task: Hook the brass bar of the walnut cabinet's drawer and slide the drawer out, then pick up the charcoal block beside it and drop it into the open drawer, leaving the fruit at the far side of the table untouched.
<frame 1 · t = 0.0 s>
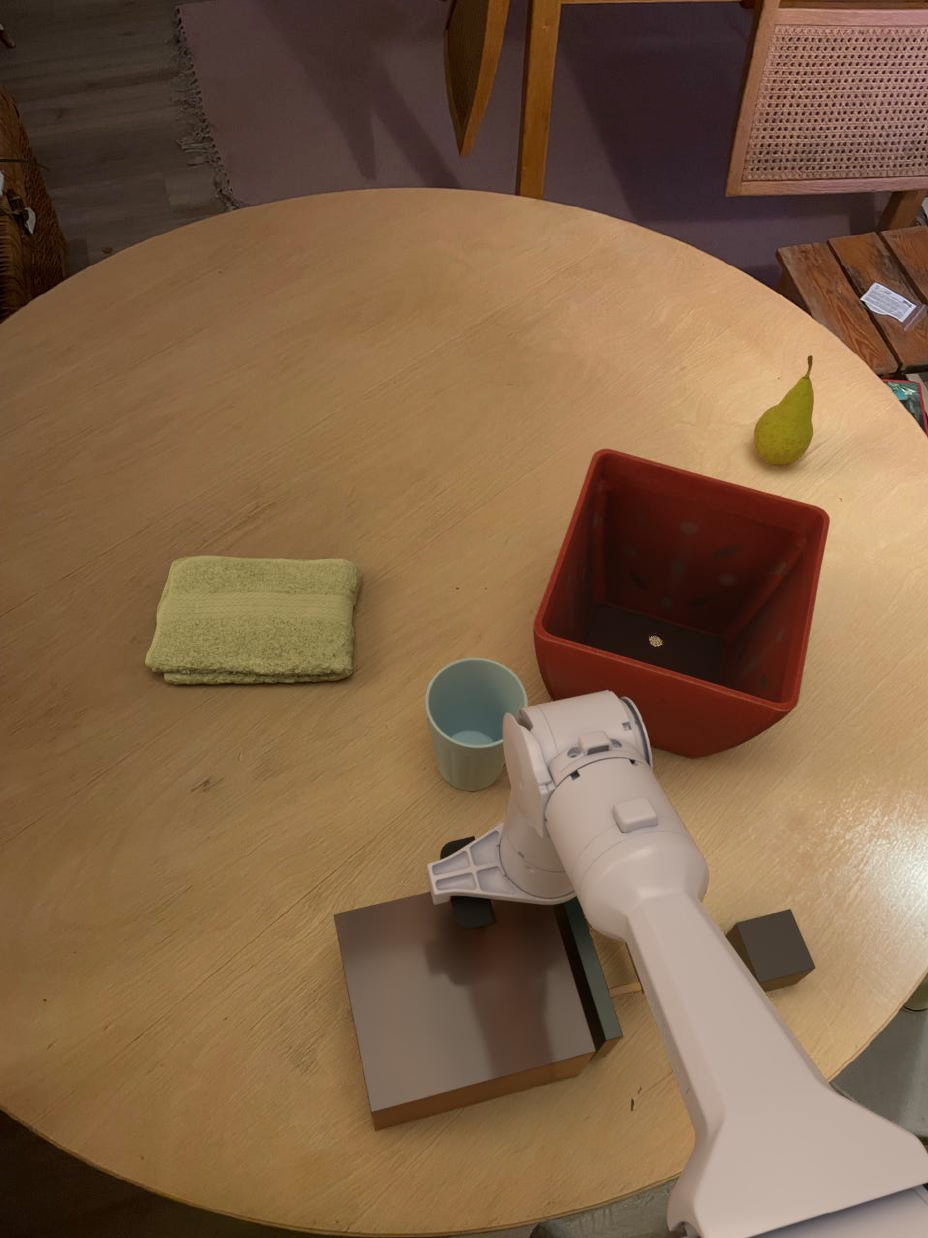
hand: (531, 900, 71), 9 cm above the table, tool pointing down, fingers open, 7 cm apart
block: (758, 961, 78), on the table
flower pot: (645, 681, 91), on the table
washcloth: (259, 628, 93), on the table
drawer: (525, 979, 72), point 4 cm above the table, slide at 1.0 cm
cup: (469, 762, 86), on the table
cabinet: (456, 1011, 75), on the table
fruit: (773, 458, 107), on the table
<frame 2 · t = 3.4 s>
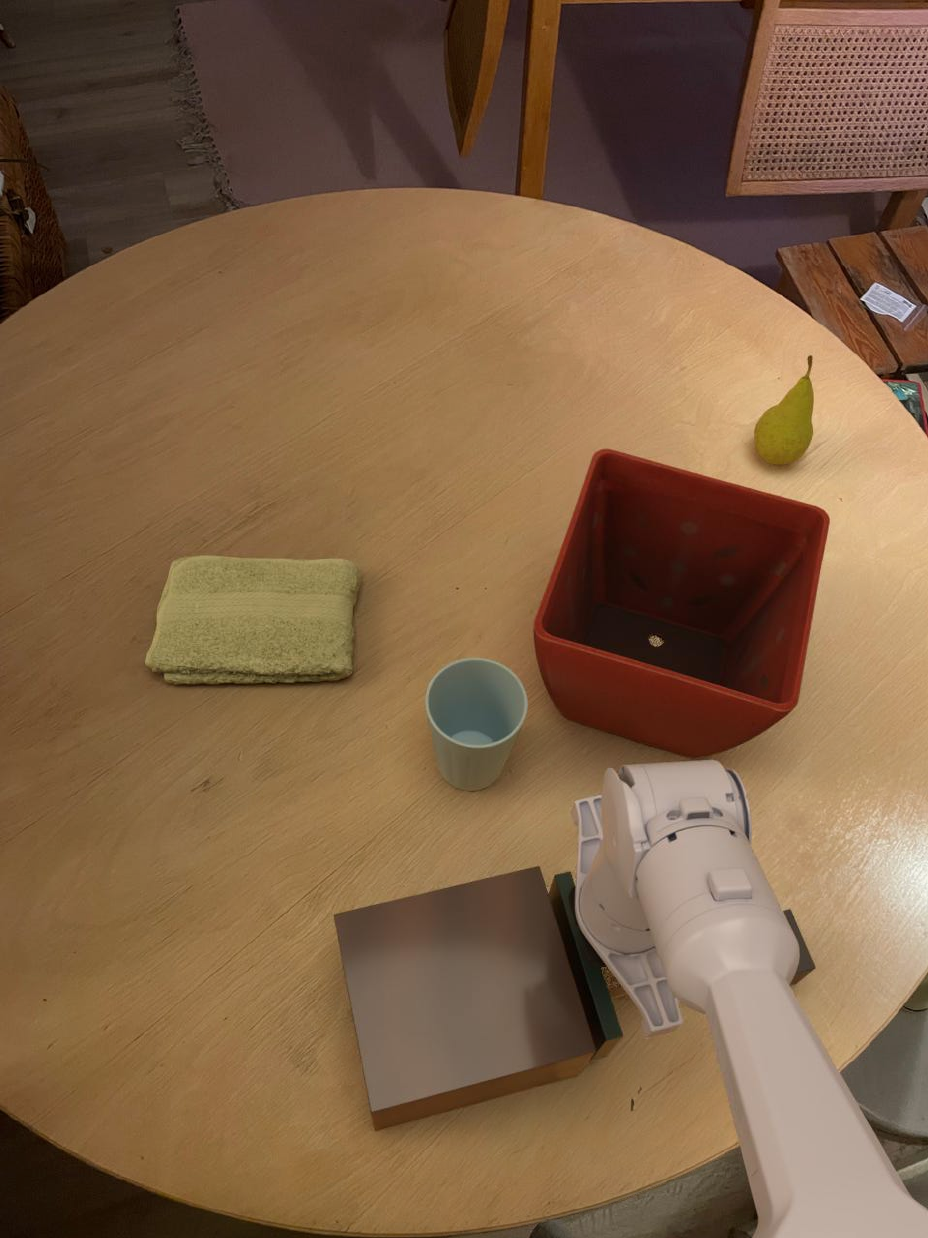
hand: (602, 948, 70), 8 cm above the table, tool pointing down, fingers closed, pressing on drawer
drawer: (525, 979, 72), point 4 cm above the table, slide at 1.0 cm, touching gripper
everything else where it was.
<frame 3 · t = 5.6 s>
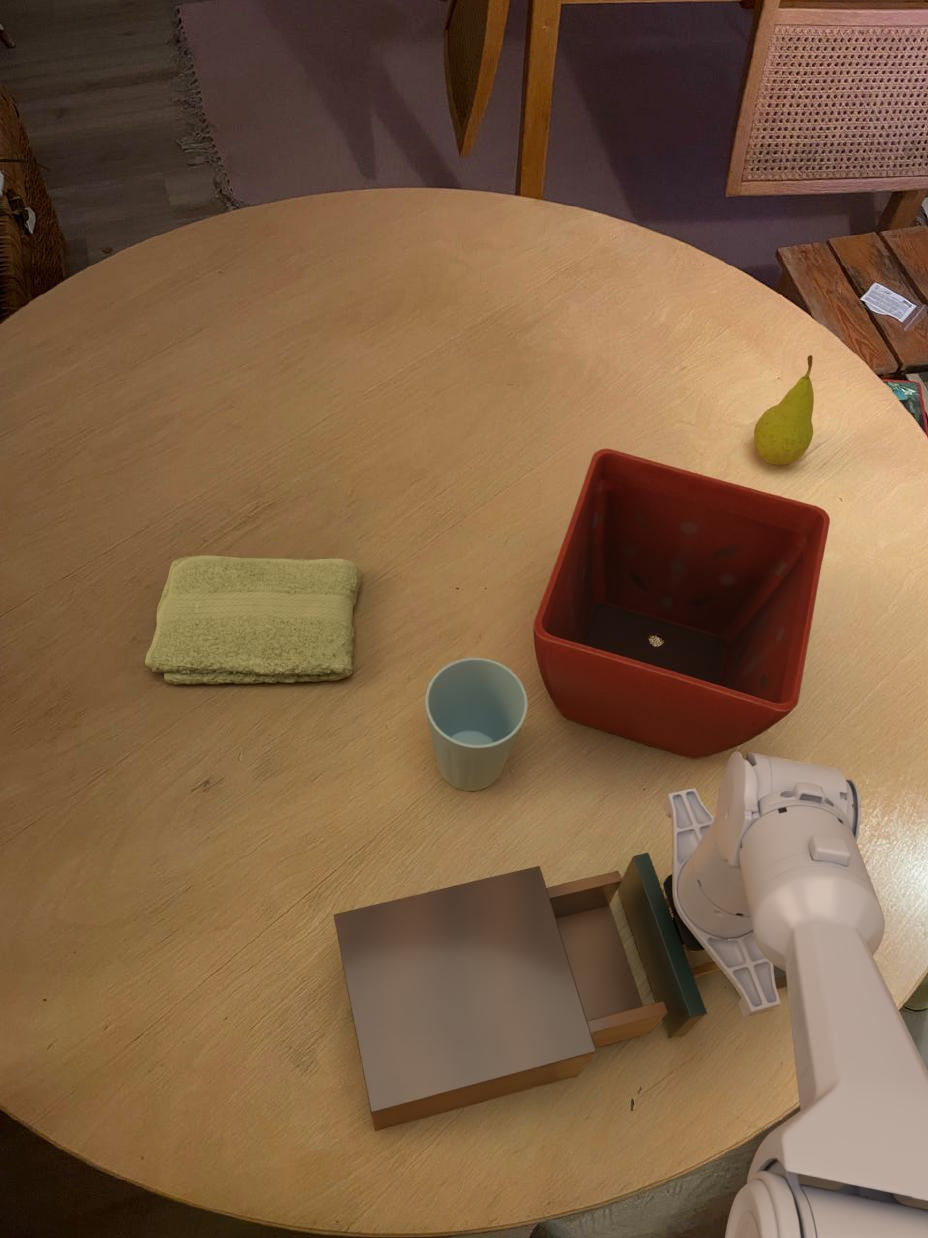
hand: (689, 933, 74), 5 cm above the table, tool pointing down, fingers closed, pressing on drawer
drawer: (605, 959, 73), point 4 cm above the table, slide at 6.9 cm, touching gripper
everything else where it was.
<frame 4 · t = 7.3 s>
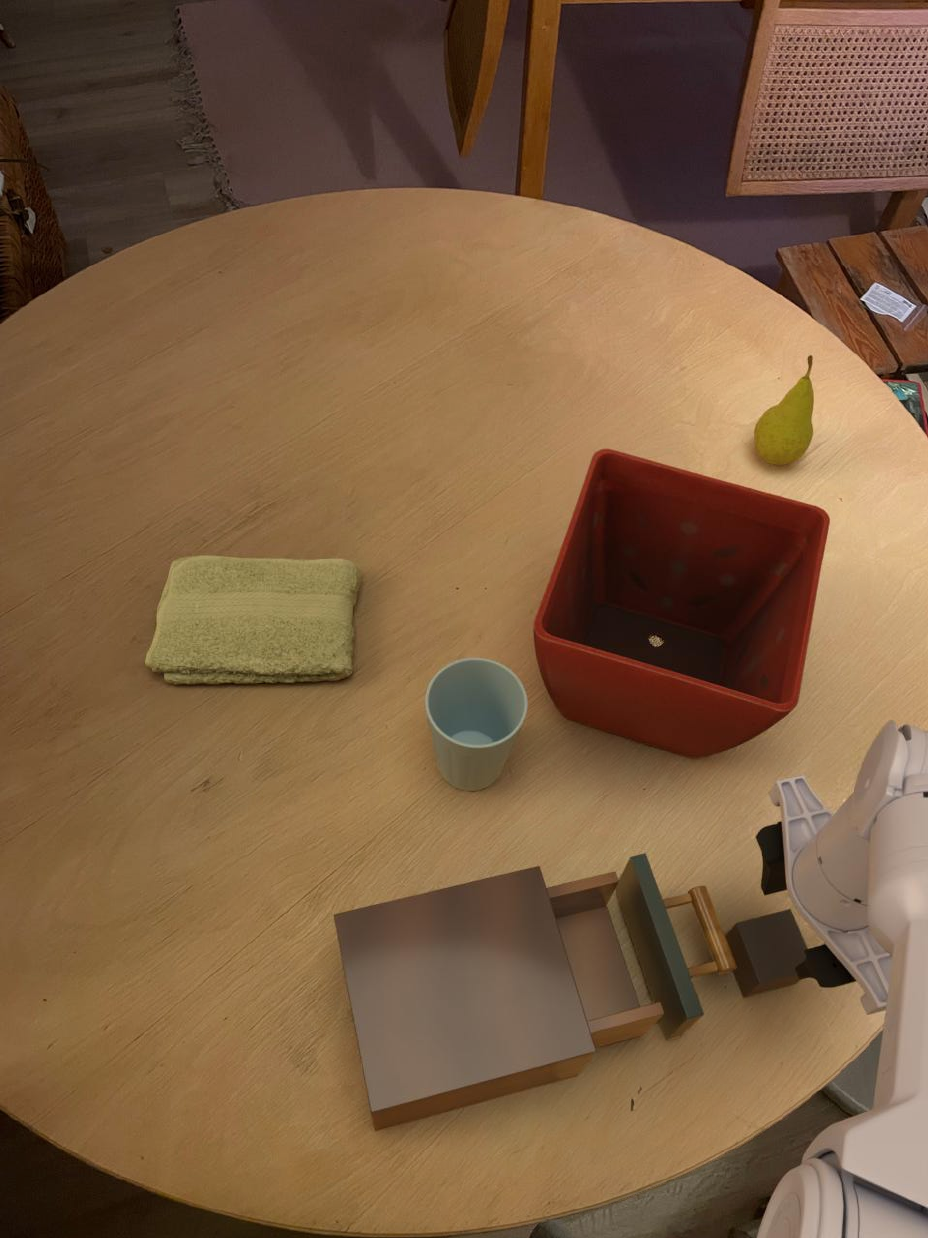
hand: (792, 928, 71), 8 cm above the table, tool pointing down, fingers open, 5 cm apart
drawer: (602, 960, 73), point 4 cm above the table, slide at 6.7 cm
everything else where it was.
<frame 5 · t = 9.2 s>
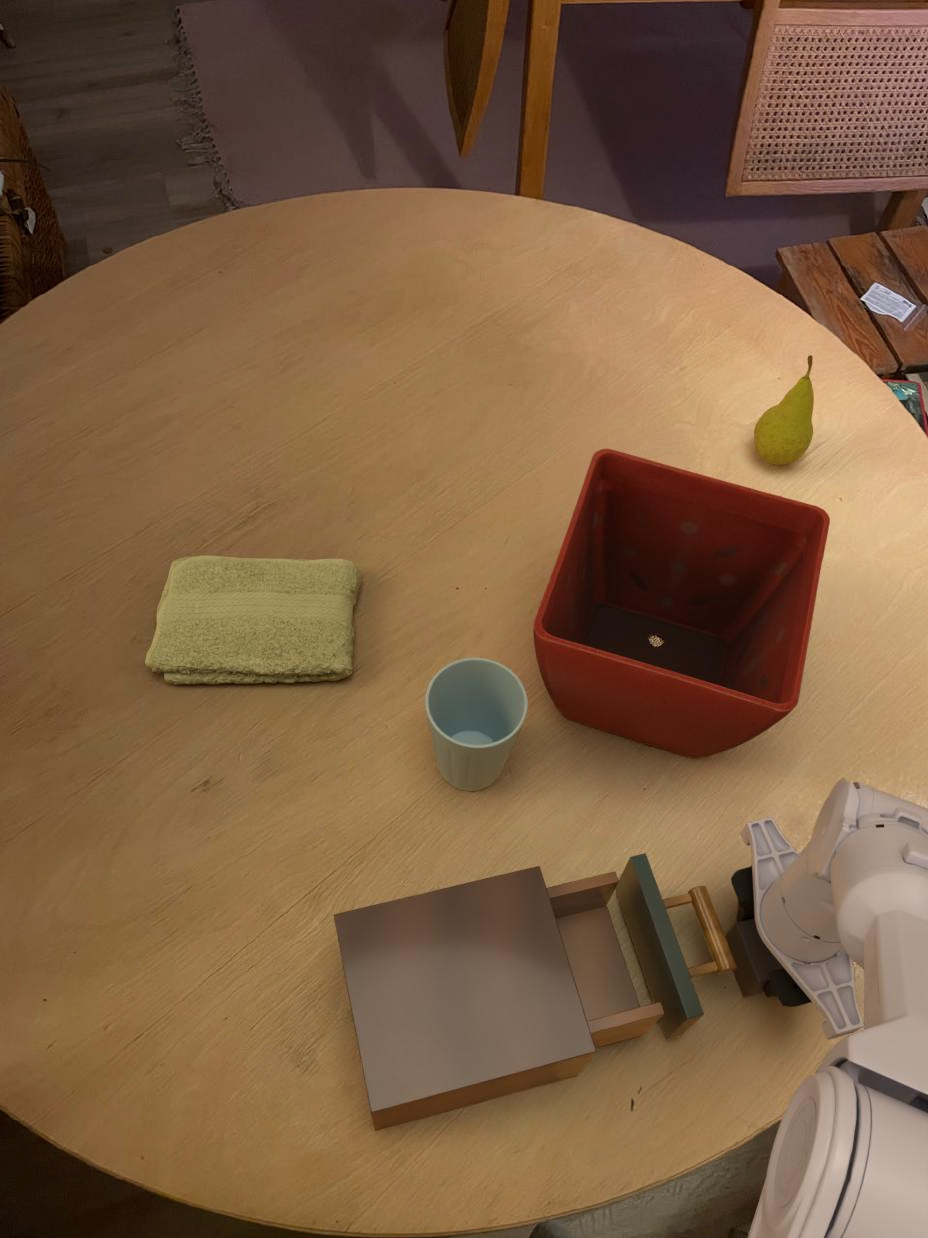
hand: (763, 957, 77), 1 cm above the table, tool pointing down, fingers closed on block, 4 cm apart
block: (758, 961, 78), on the table, touching gripper
everything else where it was.
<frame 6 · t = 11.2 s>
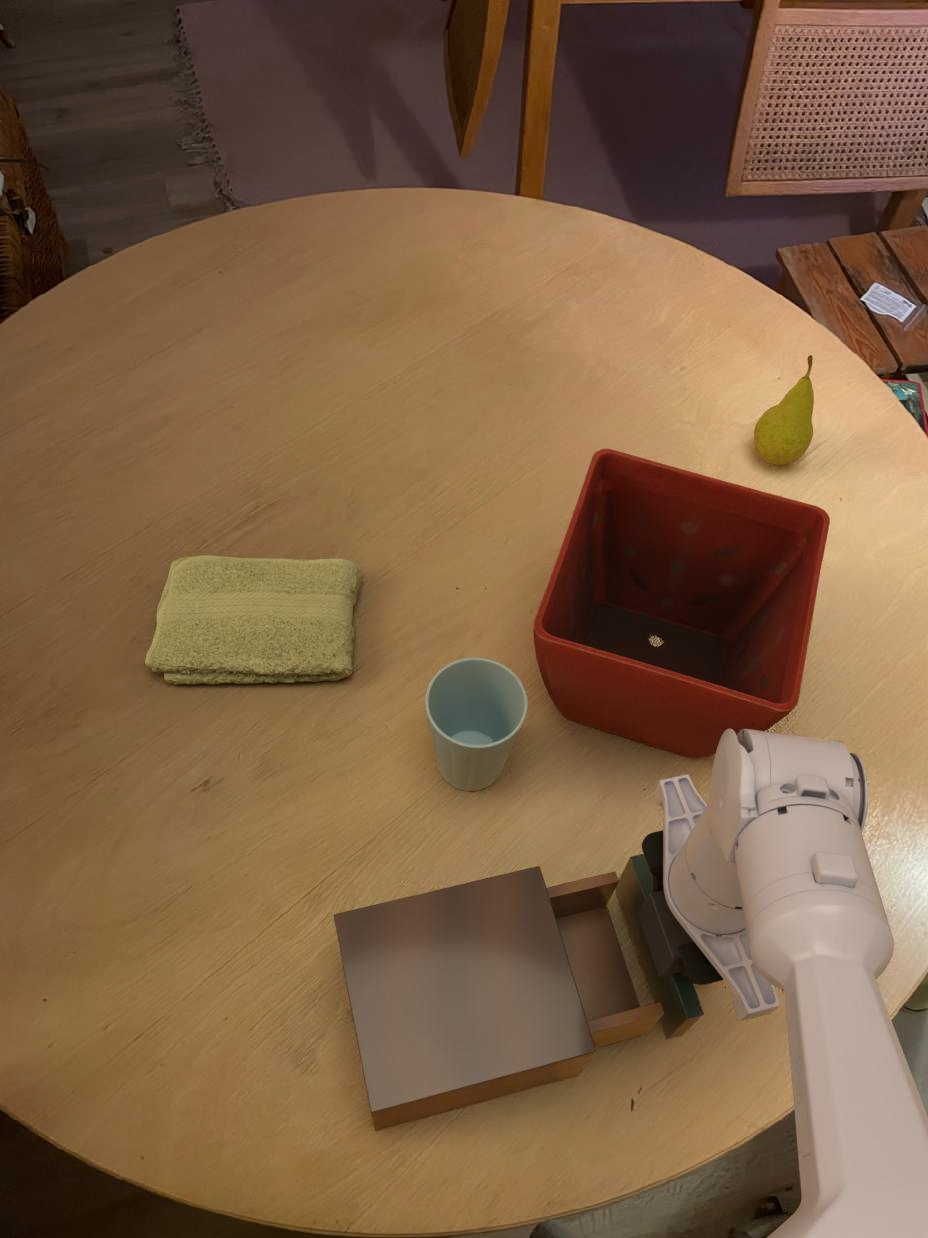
hand: (682, 932, 69), 10 cm above the table, tool pointing down, fingers closed on block, 4 cm apart
block: (678, 937, 70), point 8 cm above the table, touching gripper
everything else where it was.
when the fingers open (6 cm above the table, at t = 13.5 s): block drops 3 cm, resting on drawer.
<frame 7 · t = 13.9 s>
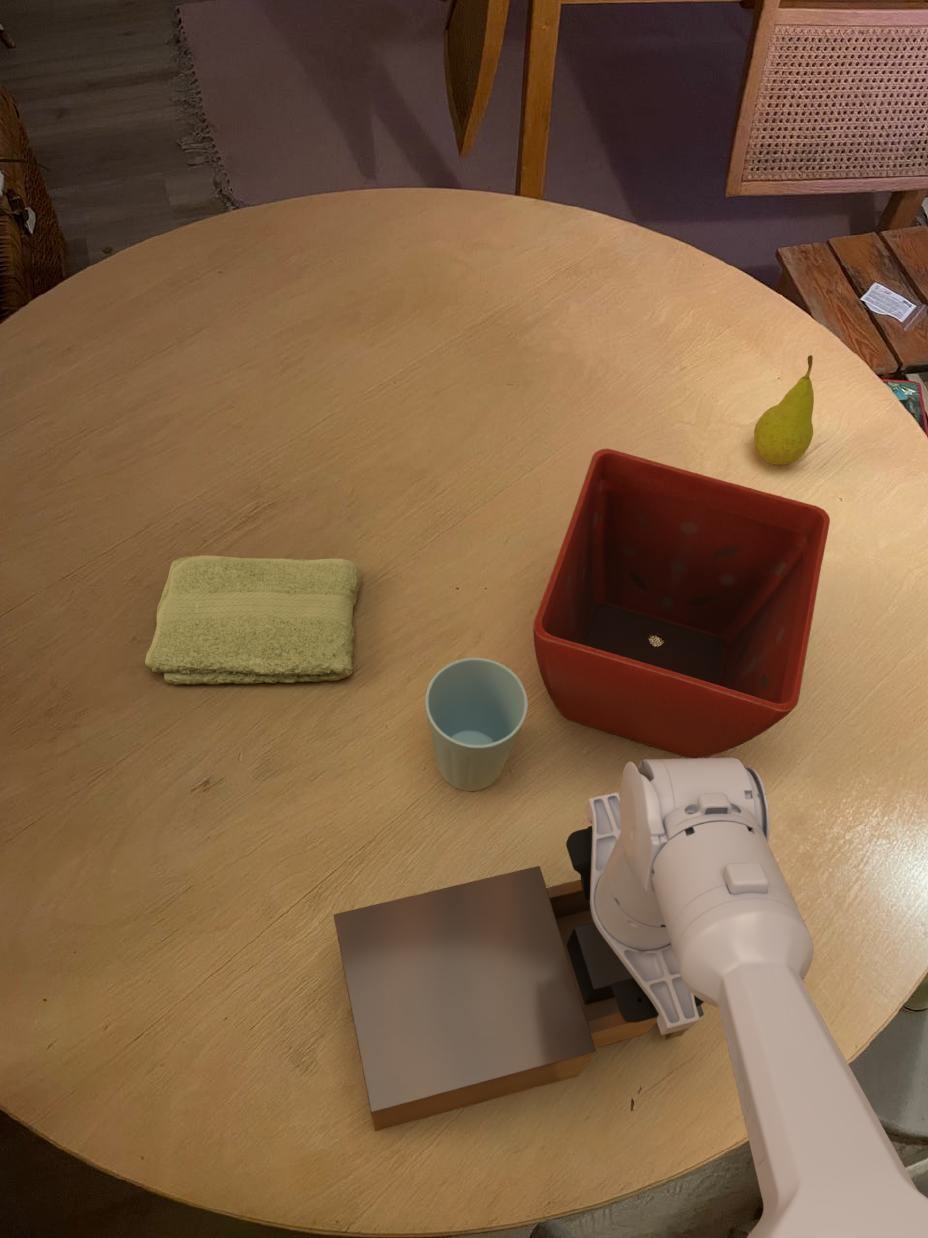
hand: (616, 945, 71), 8 cm above the table, tool pointing down, fingers open, 7 cm apart
block: (603, 967, 75), point 2 cm above the table, touching drawer
drawer: (602, 960, 73), point 4 cm above the table, slide at 6.7 cm, touching block
everything else where it was.
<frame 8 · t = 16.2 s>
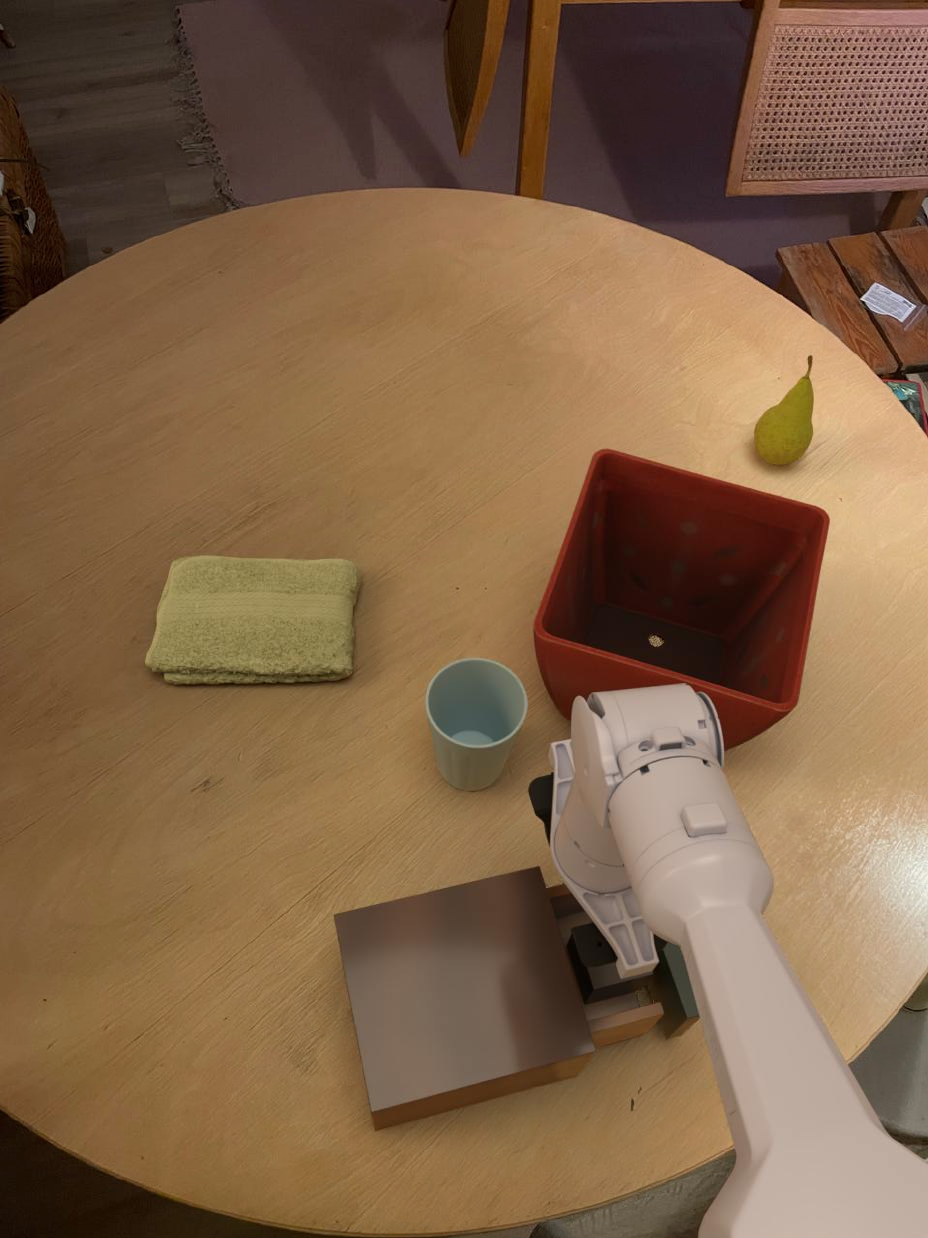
hand: (580, 895, 70), 10 cm above the table, tool pointing down, fingers open, 7 cm apart
nothing on the table moved.
at the end: drawer slide at 6.7 cm; block inside the target area in the cabinet (6.0 cm from its centre), point 2.0 cm above the cabinet's base; fruit moved 0.2 cm from its start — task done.
